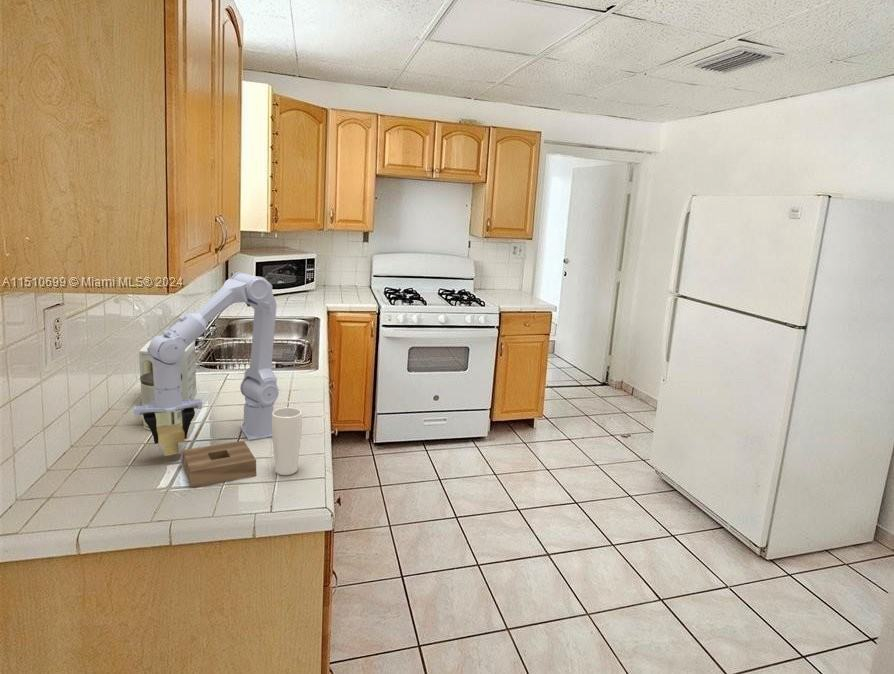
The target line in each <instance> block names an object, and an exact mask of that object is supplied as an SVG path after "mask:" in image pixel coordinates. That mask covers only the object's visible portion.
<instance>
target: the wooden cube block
mask: <svg viewBox="0 0 894 674" xmlns="http://www.w3.org/2000/svg"><path fill="white" fill-rule="evenodd" d="M157 437H158V443H157V445H158V446H162V447H163V448H162V449H163V454H164V456H173V455H178V454H179V452H180V451H179V443H182V442H183V443H184V442H185V441H186V439H185V434H184V429H183V427H182V425H181V423H180V424H172V425H165V426H157Z"/></svg>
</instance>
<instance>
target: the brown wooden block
mask: <svg viewBox="0 0 894 674" xmlns="http://www.w3.org/2000/svg"><path fill="white" fill-rule="evenodd" d="M181 451H182V467H183V469H184V472H185V475H186V477H187V480H188V482H189V487H190V488H191V489H194V488H198V487H200V488H201V487H205V486H209V485H210V486H211V485H215V484H219V483H224V482H231V481H235V480H241V479H247V478H251V477H256V476H257V459H256V458H255V456H254V454H253V453H252V451H251V449H250V448H249V446H248V444H247V443H246V442H245V440H238V441H230V442H224V443H219V444H212V445H205V446H201V447H194V448H187V449H182V450H181Z"/></svg>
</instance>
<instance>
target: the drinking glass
mask: <svg viewBox="0 0 894 674" xmlns="http://www.w3.org/2000/svg"><path fill="white" fill-rule="evenodd" d="M302 416H303V415H302V411H301V410H300V409H299V408H296V407H290V406H289V407H288V406H287V407H280V408H276V409H273V412H272V437H271V438H272V444H273V455H274V456H273V457H274V470H275V473H277V474H278V475H281V476H291V475H293V474H295V473H296V472H298V469H299V457H300V449H301V447H300V445H301V438H302V427H303V425H302V423H303V422H302Z"/></svg>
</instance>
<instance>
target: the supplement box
mask: <svg viewBox="0 0 894 674" xmlns="http://www.w3.org/2000/svg"><path fill="white" fill-rule="evenodd" d="M151 341H152V339H150V340H149V341H148V342H146V344H145V345H144V346H143V347H141V349H139V351H138V357H139V358H138V359H139V360H138V361H139V375H140V377H141V376H142V375H144V374H147V373H150V372H153V358H152V357H151V356H150V355H149V353H148V351H147V348H148V347H149V345H150V342H151ZM196 368H197V367H196V340H195V341H193V342H192V343H191V344H190V345H189V346H188V347H187V348H186V349H185V353H184V356H183V358H182V359H181V360H180V373H181V374H182V389H183V399H195V398H194V397H195V396H196V395H197V372H196V371H197V370H196ZM140 377H139V378H140ZM140 394H141V395H140V396H141V398H142V392H141V391H140Z"/></svg>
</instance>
